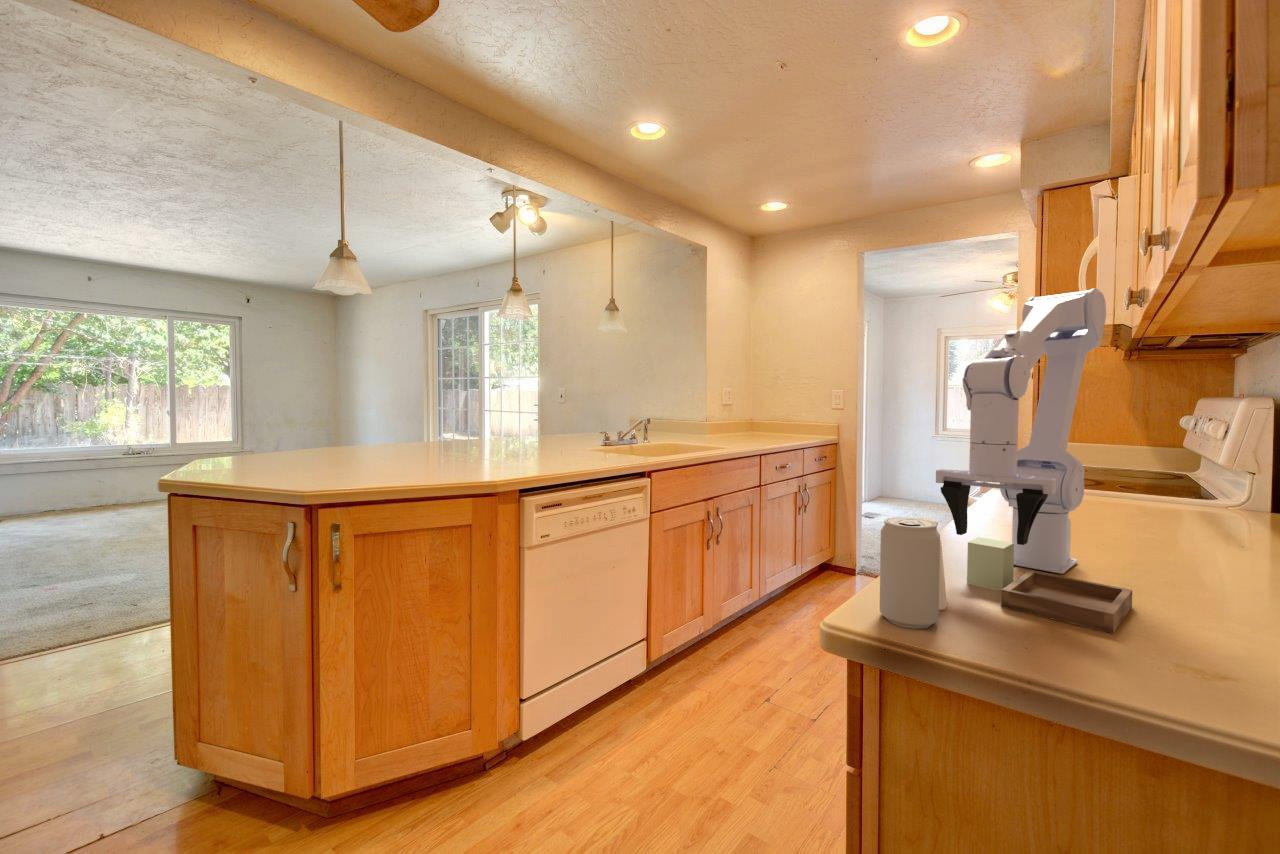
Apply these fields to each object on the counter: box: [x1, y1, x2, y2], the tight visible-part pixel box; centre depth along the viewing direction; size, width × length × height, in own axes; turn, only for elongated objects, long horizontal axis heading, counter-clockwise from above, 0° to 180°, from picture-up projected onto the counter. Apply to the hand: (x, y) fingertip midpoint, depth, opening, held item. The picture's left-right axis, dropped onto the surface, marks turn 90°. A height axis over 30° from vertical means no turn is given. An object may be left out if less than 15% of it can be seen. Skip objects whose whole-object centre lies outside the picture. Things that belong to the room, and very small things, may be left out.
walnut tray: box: [1000, 570, 1133, 634], centre depth 71 cm, size 12×11×2 cm
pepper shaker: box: [917, 517, 948, 611], centre depth 72 cm, size 5×5×11 cm
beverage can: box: [879, 516, 941, 630], centre depth 67 cm, size 6×6×12 cm
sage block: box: [966, 537, 1015, 592], centre depth 80 cm, size 4×4×6 cm
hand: (990, 538), depth 80 cm, fingers open, 7 cm apart
